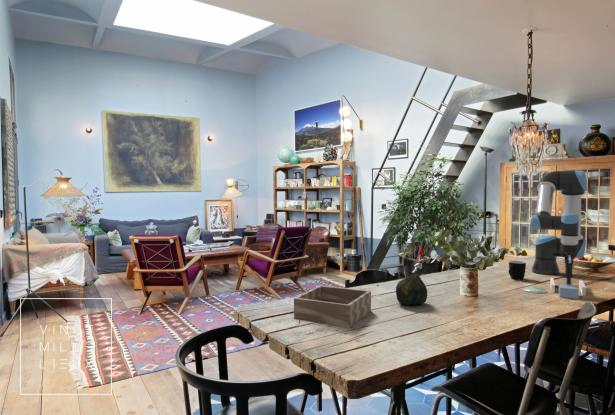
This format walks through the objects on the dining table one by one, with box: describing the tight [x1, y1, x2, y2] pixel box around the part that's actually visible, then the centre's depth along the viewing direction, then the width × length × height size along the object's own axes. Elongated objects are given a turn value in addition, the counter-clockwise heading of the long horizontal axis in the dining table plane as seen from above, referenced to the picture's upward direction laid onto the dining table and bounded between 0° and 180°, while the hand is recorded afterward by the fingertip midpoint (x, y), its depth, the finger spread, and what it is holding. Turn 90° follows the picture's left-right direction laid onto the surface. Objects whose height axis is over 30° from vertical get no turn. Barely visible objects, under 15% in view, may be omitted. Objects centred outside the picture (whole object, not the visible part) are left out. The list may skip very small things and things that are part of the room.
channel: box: [549, 277, 587, 297], centre depth 225 cm, size 18×15×4 cm
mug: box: [508, 260, 527, 281], centre depth 251 cm, size 12×9×10 cm
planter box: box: [293, 285, 372, 329], centre depth 187 cm, size 25×25×9 cm
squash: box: [395, 273, 428, 306], centre depth 203 cm, size 14×15×15 cm
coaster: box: [522, 286, 548, 294], centre depth 225 cm, size 11×11×1 cm
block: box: [558, 284, 580, 300], centre depth 213 cm, size 8×8×5 cm
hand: (568, 290), depth 217 cm, fingers closed
